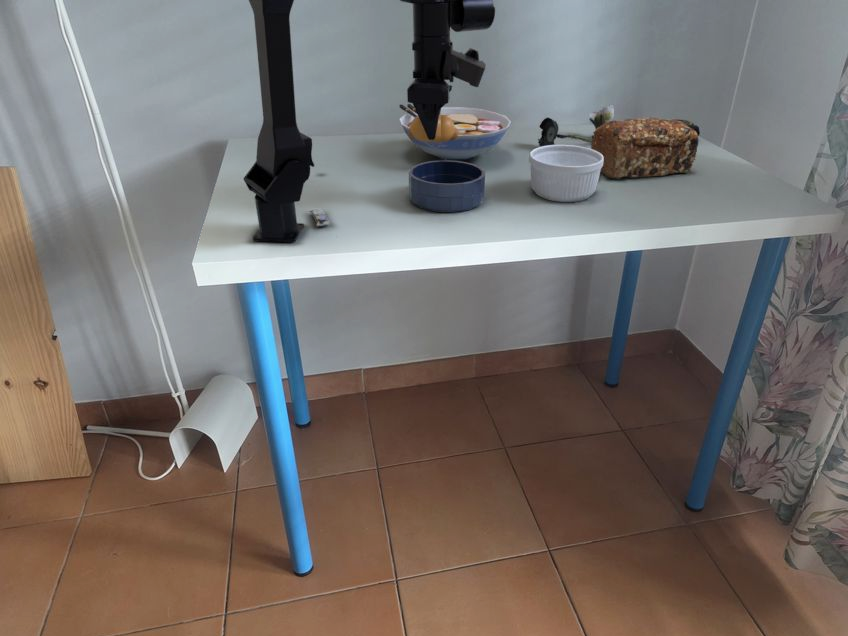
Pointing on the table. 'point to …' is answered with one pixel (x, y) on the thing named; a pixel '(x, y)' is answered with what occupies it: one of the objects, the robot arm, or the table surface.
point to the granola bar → (320, 217)
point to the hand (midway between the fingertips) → (432, 135)
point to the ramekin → (565, 172)
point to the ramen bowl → (462, 132)
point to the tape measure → (690, 125)
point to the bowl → (446, 185)
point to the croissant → (443, 132)
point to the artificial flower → (551, 131)
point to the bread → (645, 147)
